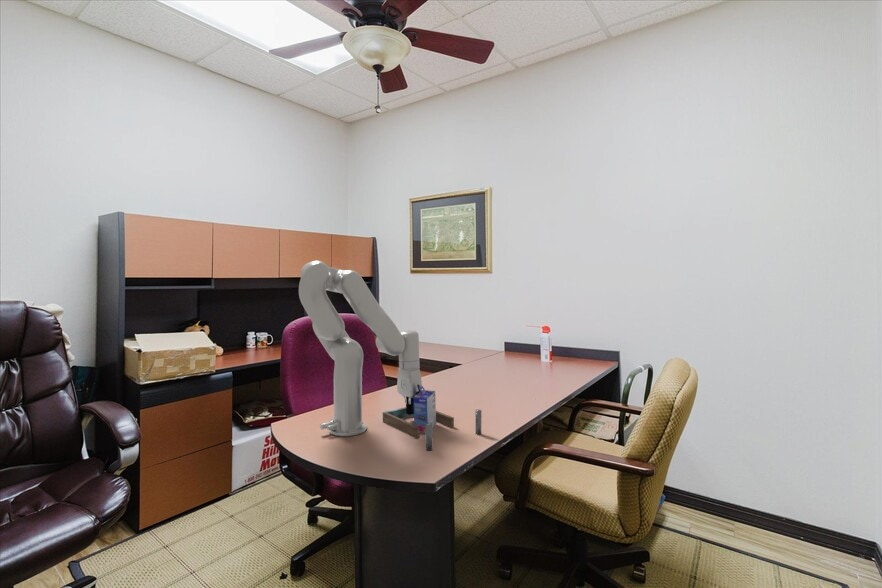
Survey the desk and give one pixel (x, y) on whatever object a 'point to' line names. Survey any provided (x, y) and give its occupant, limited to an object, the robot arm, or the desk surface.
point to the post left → (428, 436)
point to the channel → (396, 421)
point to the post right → (478, 422)
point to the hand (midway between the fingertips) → (411, 413)
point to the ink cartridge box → (424, 409)
